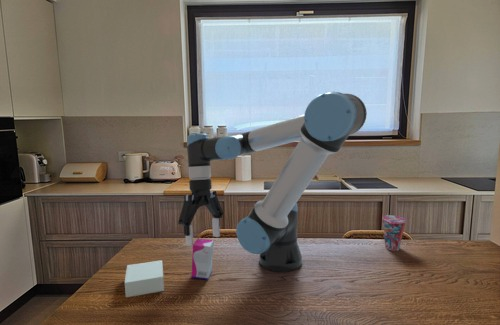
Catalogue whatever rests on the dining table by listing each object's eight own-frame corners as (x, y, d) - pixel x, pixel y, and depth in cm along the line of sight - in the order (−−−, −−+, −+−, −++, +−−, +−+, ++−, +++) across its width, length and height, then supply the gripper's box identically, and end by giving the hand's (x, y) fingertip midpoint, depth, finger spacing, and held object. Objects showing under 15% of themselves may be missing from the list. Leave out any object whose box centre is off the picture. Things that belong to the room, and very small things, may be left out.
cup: (378, 242, 129) (379, 214, 127) (400, 243, 127) (402, 215, 125) (384, 253, 120) (386, 222, 117) (408, 254, 118) (410, 223, 116)
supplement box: (212, 270, 108) (214, 239, 106) (208, 280, 103) (210, 247, 100) (195, 268, 109) (197, 237, 107) (190, 278, 103) (192, 245, 101)
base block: (163, 273, 107) (162, 260, 107) (164, 291, 97) (163, 276, 96) (128, 279, 104) (127, 265, 103) (125, 298, 94) (124, 282, 93)
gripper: (215, 177, 122) (218, 232, 122) (164, 181, 101) (168, 248, 101) (230, 176, 118) (234, 233, 117) (181, 181, 97) (185, 250, 97)
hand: (203, 240), depth 109 cm, fingers open, 13 cm apart
